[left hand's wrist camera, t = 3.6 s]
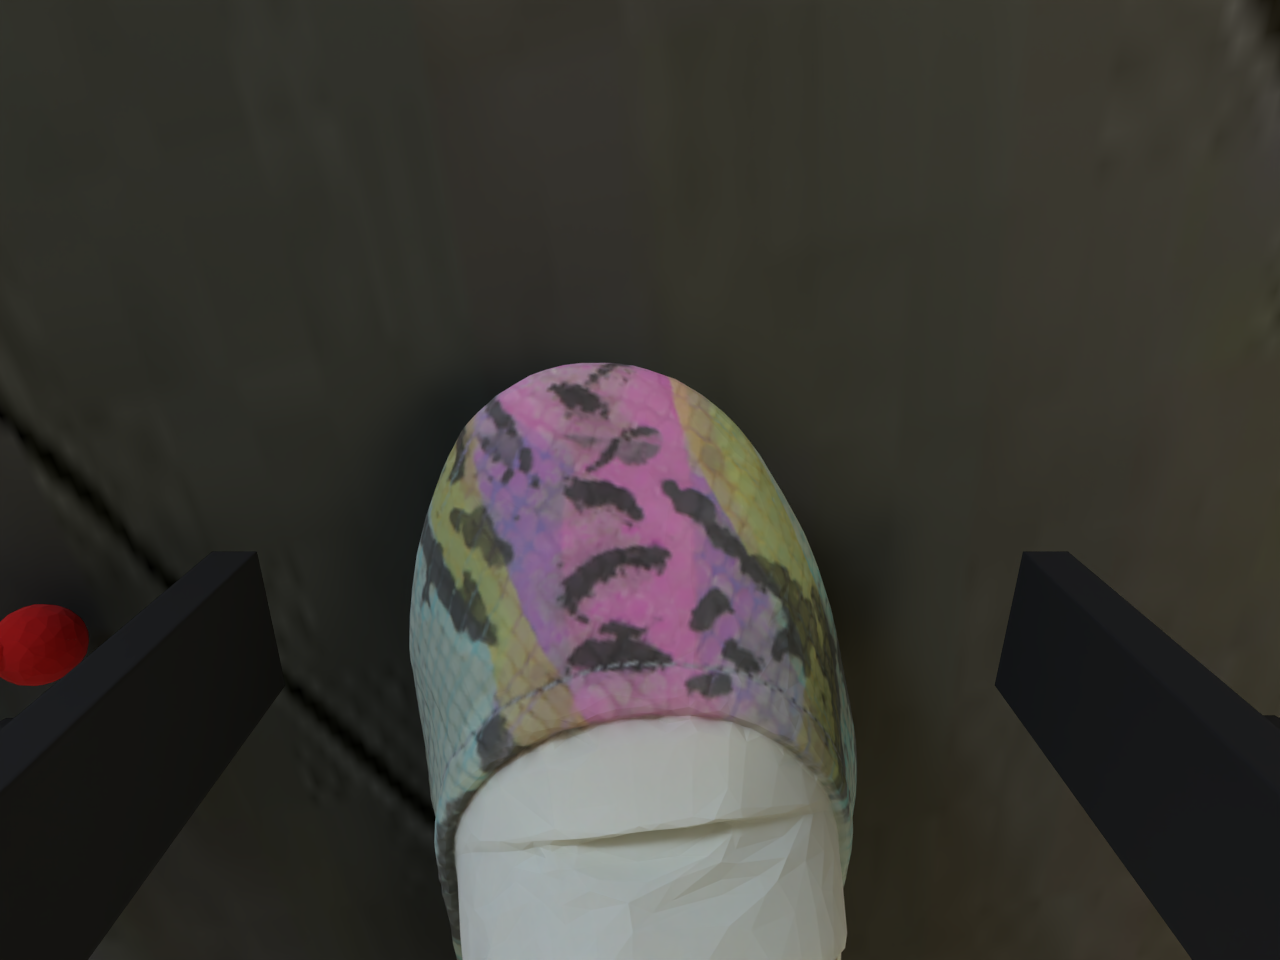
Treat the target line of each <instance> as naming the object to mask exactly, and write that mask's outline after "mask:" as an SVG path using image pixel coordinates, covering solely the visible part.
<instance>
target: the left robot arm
mask: <svg viewBox="0 0 1280 960" xmlns="http://www.w3.org/2000/svg"><path fill="white" fill-rule="evenodd" d="M284 686H285V682H284V677H283V673H282V668H281V663H280V658H279V654H278V649H277V644H276V640H275V635H274V630H273V625H272V621H271V616H270V611H269V607H268V602H267V597H266V592H265V588H264V583H263V578H262V574H261V569H260V564H259V559H258V555H257V552H211V553H210V554H209V555H208V556H206V557H205V558H204V559H203V560H202V561H200V562H199V563H198V564H197V565H196V566H194V567H193V568H192V569H191V570H190V571H189V572H187V573H186V574H185V575H184V576H183V577H181V578H180V579H179V580H178V581H177V582H175V583H174V584H173V585H172V586H171V587H170V588H168V589H167V590H166V591H165V592H164V593H162V594H161V595H160V596H159V597H158V598H156V599H155V600H154V601H153V602H152V603H150V604H149V605H148V606H147V607H146V608H145V609H143V610H142V611H141V612H140V613H139V614H137V615H136V616H135V617H134V618H133V619H131V620H130V621H129V622H128V623H127V624H126V625H124V626H123V627H122V628H121V629H120V630H118V631H117V632H116V633H115V634H114V635H112V636H111V637H110V638H109V639H108V640H106V641H105V642H104V643H103V644H102V645H101V646H99V647H98V648H97V649H96V650H95V651H93V652H92V653H91V654H90V655H89V656H87V657H86V658H85V659H84V660H83V661H82V662H80V663H79V664H78V665H77V666H76V667H74V668H73V669H72V670H71V671H70V672H68V673H67V674H66V675H65V676H64V677H63V678H61V679H60V680H59V681H58V682H57V683H55V684H54V685H53V686H52V687H51V688H49V689H48V690H47V691H46V692H45V693H43V694H42V695H41V696H40V697H39V698H38V699H36V700H35V701H34V702H33V703H32V704H30V705H29V706H28V707H27V708H26V709H24V710H23V711H22V712H21V713H20V714H19V715H17V716H16V717H15V718H6V719H4V720H2V721H0V960H88V959H89V957H90V956H91V954H92V953H93V952H94V950H95V949H96V947H97V946H98V945H99V943H100V942H101V941H102V939H103V938H104V936H105V935H106V934H107V932H108V931H109V929H110V928H111V927H112V925H113V924H114V922H115V921H116V920H117V918H118V917H119V916H120V914H121V913H122V911H123V910H124V909H125V907H126V906H127V904H128V903H129V902H130V900H131V899H132V897H133V896H134V895H135V893H136V892H137V890H138V889H139V888H140V886H141V885H142V884H143V882H144V881H145V879H146V878H147V877H148V875H149V874H150V872H151V871H152V870H153V868H154V867H155V865H156V864H157V863H158V861H159V860H160V858H161V857H162V856H163V854H164V853H165V852H166V850H167V849H168V847H169V846H170V845H171V843H172V842H173V840H174V839H175V838H176V836H177V835H178V833H179V832H180V831H181V829H182V828H183V827H184V825H185V824H186V822H187V821H188V820H189V818H190V817H191V815H192V814H193V813H194V811H195V810H196V808H197V807H198V806H199V804H200V803H201V801H202V800H203V799H204V797H205V796H206V795H207V793H208V792H209V790H210V789H211V788H212V786H213V785H214V783H215V782H216V781H217V779H218V778H219V776H220V775H221V774H222V772H223V771H224V770H225V768H226V767H227V765H228V764H229V763H230V761H231V760H232V758H233V757H234V756H235V754H236V753H237V751H238V750H239V749H240V747H241V746H242V744H243V743H244V742H245V740H246V739H247V738H248V736H249V735H250V733H251V732H252V731H253V729H254V728H255V726H256V725H257V724H258V722H259V721H260V719H261V718H262V717H263V715H264V714H265V713H266V711H267V710H268V708H269V707H270V706H271V704H272V703H273V701H274V700H275V699H276V697H277V696H278V694H279V693H280V692H281V690H282V689H283V687H284ZM995 686H996V687H997V689H998V690H999V692H1000V693H1001V694H1002V696H1003V697H1004V699H1005V700H1006V701H1007V703H1008V704H1009V706H1010V707H1011V708H1012V710H1013V711H1014V713H1015V714H1016V715H1017V717H1018V718H1019V719H1020V721H1021V722H1022V724H1023V725H1024V726H1025V728H1026V729H1027V731H1028V732H1029V733H1030V735H1031V736H1032V738H1033V739H1034V740H1035V742H1036V743H1037V744H1038V746H1039V747H1040V749H1041V750H1042V751H1043V753H1044V754H1045V756H1046V757H1047V758H1048V760H1049V761H1050V763H1051V764H1052V765H1053V767H1054V768H1055V770H1056V771H1057V772H1058V774H1059V775H1060V776H1061V778H1062V779H1063V781H1064V782H1065V783H1066V785H1067V786H1068V788H1069V789H1070V790H1071V792H1072V793H1073V795H1074V796H1075V797H1076V799H1077V800H1078V801H1079V803H1080V804H1081V806H1082V807H1083V808H1084V810H1085V811H1086V813H1087V814H1088V815H1089V817H1090V818H1091V820H1092V821H1093V822H1094V824H1095V825H1096V827H1097V828H1098V829H1099V831H1100V832H1101V833H1102V835H1103V836H1104V838H1105V839H1106V840H1107V842H1108V843H1109V845H1110V846H1111V847H1112V849H1113V850H1114V852H1115V853H1116V854H1117V856H1118V857H1119V859H1120V860H1121V861H1122V863H1123V864H1124V865H1125V867H1126V868H1127V870H1128V871H1129V872H1130V874H1131V875H1132V877H1133V878H1134V879H1135V881H1136V882H1137V884H1138V885H1139V886H1140V888H1141V889H1142V890H1143V892H1144V893H1145V895H1146V896H1147V897H1148V899H1149V900H1150V902H1151V903H1152V904H1153V906H1154V907H1155V909H1156V910H1157V911H1158V913H1159V914H1160V916H1161V917H1162V918H1163V920H1164V921H1165V922H1166V924H1167V925H1168V927H1169V928H1170V929H1171V931H1172V932H1173V934H1174V935H1175V936H1176V938H1177V939H1178V941H1179V942H1180V943H1181V945H1182V946H1183V947H1184V949H1185V950H1186V952H1187V953H1188V954H1189V956H1190V957H1191V959H1192V960H1280V718H1278V717H1276V716H1263V715H1261V714H1260V713H1259V712H1258V711H1257V710H1256V709H1254V708H1253V707H1252V706H1251V705H1250V704H1248V703H1247V702H1246V701H1245V700H1244V699H1242V698H1241V697H1240V696H1239V695H1238V694H1237V693H1235V692H1234V691H1233V690H1232V689H1231V688H1229V687H1228V686H1227V685H1226V684H1225V683H1223V682H1222V681H1221V680H1220V679H1219V678H1217V677H1216V676H1215V675H1214V674H1213V673H1212V672H1210V671H1209V670H1208V669H1207V668H1206V667H1204V666H1203V665H1202V664H1201V663H1200V662H1198V661H1197V660H1196V659H1195V658H1194V657H1193V656H1191V655H1190V654H1189V653H1188V652H1187V651H1185V650H1184V649H1183V648H1182V647H1181V646H1179V645H1178V644H1177V643H1176V642H1175V641H1174V640H1172V639H1171V638H1170V637H1169V636H1168V635H1166V634H1165V633H1164V632H1163V631H1162V630H1160V629H1159V628H1158V627H1157V626H1156V625H1154V624H1153V623H1152V622H1151V621H1150V620H1149V619H1147V618H1146V617H1145V616H1144V615H1143V614H1141V613H1140V612H1139V611H1138V610H1137V609H1135V608H1134V607H1133V606H1132V605H1131V604H1130V603H1128V602H1127V601H1126V600H1125V599H1124V598H1122V597H1121V596H1120V595H1119V594H1118V593H1116V592H1115V591H1114V590H1113V589H1112V588H1110V587H1109V586H1108V585H1107V584H1106V583H1105V582H1103V581H1102V580H1101V579H1100V578H1099V577H1097V576H1096V575H1095V574H1094V573H1093V572H1091V571H1090V570H1089V569H1088V568H1087V567H1086V566H1084V565H1083V564H1082V563H1081V562H1080V561H1078V560H1077V559H1076V558H1075V557H1074V556H1072V555H1071V554H1070V553H1069V552H1023V555H1022V559H1021V564H1020V569H1019V574H1018V578H1017V583H1016V588H1015V592H1014V597H1013V602H1012V607H1011V611H1010V616H1009V621H1008V625H1007V630H1006V635H1005V640H1004V644H1003V649H1002V654H1001V658H1000V663H999V668H998V673H997V677H996V682H995Z"/></svg>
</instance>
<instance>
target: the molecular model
mask: <svg viewBox="0 0 1280 960" xmlns="http://www.w3.org/2000/svg"><path fill="white" fill-rule="evenodd" d="M88 643H89V635H88V630H87V628H86V625H85V623H84V622H83V620H82V619H81V618H80V617H79V616H78V615H76V614H75V613H74V612H72V611H71V610H69V609H66V608H63V607H61V606H58V605H47V604H36V605H31V606H27V607H23V608H21V609H19V610H17V611H15V612H12V613H10V614H8V615H7V616H6V617H5V618H4V619H3V620H2V621H1V622H0V677H1V678H3V679H5V680H6V681H9V682H11V683H14V684H17V685H26V686H38V685H44V684H48V683H51V682H54V681H56V680H58V679H60V678H62V677H64V676H65V675H66V674H67V673H68V672H70V671H71V670H72V669H73V668H74V667H76V666H77V665H78V664H79V663H80V662H81V661H82V660H83V658H84V656H85V655H86V653H87V649H88Z"/></svg>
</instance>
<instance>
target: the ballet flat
mask: <svg viewBox="0 0 1280 960" xmlns="http://www.w3.org/2000/svg"><path fill="white" fill-rule="evenodd" d="M409 650H410V658H411V664H412V669H413V674H414V680H415V687H416V694H417V701H418V707H419V713H420V719H421V725H422V730H423V736H424V742H425V749H426V760H427V765H428V774H429V784H430V793H431V800H432V804H433V808H434V812H435V816H436V819H435V839H434V844H435V852H436V860H437V866H438V874H439V881H440V883H441V888H442V896H443V898H444V902H445V906H446V910H447V914H448V917H449V920H450V926H451V932H452V940H453V946H454V949H455V953H456V957H457V960H841V952H842V951H843V950H844V949H845V945H846V938H847V926H846V915H845V904H844V893H843V887H844V884H845V880H846V875H847V870H848V865H849V860H850V855H851V850H852V837H853V820H852V817H853V810H854V804H855V798H856V784H857V753H856V738H855V732H854V725H853V718H852V712H851V706H850V701H849V695H848V690H847V685H846V679H845V675H844V670H843V665H842V659H841V654H840V648H839V642H838V637H837V633H836V629H835V624H834V620H833V615H832V611H831V607H830V604H829V601H828V597H827V594H826V591H825V588H824V585H823V581H822V578H821V575H820V572H819V569H818V566H817V563H816V561H815V558H814V556H813V553H812V551H811V548H810V546H809V543H808V541H807V538H806V536H805V534H804V532H803V530H802V528H801V526H800V524H799V522H798V520H797V518H796V516H795V515H794V513H793V511H792V509H791V507H790V505H789V504H788V502H787V500H786V498H785V496H784V495H783V493H782V491H781V490H780V488H779V486H778V485H777V483H776V481H775V480H774V478H773V476H772V475H771V473H770V471H769V470H768V468H767V466H766V465H765V463H764V461H763V460H762V458H761V456H760V455H759V453H758V452H757V450H756V449H755V448H754V446H753V445H752V444H751V442H750V441H749V440H748V439H747V437H746V436H745V435H744V434H743V432H742V431H741V430H740V429H739V428H738V427H737V425H736V424H735V423H734V422H733V421H732V420H731V419H730V418H729V417H728V416H727V415H726V414H725V413H724V412H723V411H721V410H720V409H719V408H718V407H716V406H715V405H714V404H713V403H711V402H710V401H709V400H708V399H706V398H705V397H704V396H703V395H701V394H700V393H698V392H696V391H695V390H693V389H691V388H690V387H688V386H686V385H685V384H683V383H681V382H680V381H678V380H676V379H674V378H671V377H668V376H665V375H662V374H659V373H656V372H653V371H650V370H647V369H644V368H640V367H636V366H632V365H624V364H617V363H578V364H569V365H563V366H558V367H554V368H550V369H546V370H543V371H541V372H538V373H535V374H532V375H530V376H528V377H526V378H525V379H523V380H521V381H519V382H518V383H516V384H514V385H513V386H511V387H509V388H508V389H506V390H505V391H503V392H501V393H500V394H498V395H497V396H495V397H494V398H493V399H492V400H491V401H490V402H489V403H488V404H487V405H486V406H484V407H483V408H482V409H481V410H480V411H479V412H478V413H477V414H476V415H475V416H474V417H473V418H472V419H471V420H470V421H469V422H468V423H467V425H466V426H465V427H464V428H463V430H462V431H461V433H460V435H459V437H458V439H457V441H456V443H455V445H454V447H453V449H452V450H451V452H450V454H449V456H448V458H447V461H446V463H445V465H444V467H443V469H442V472H441V475H440V478H439V481H438V483H437V486H436V489H435V492H434V495H433V498H432V501H431V503H430V506H429V509H428V512H427V515H426V518H425V522H424V527H423V531H422V535H421V539H420V543H419V548H418V552H417V557H416V565H415V572H414V579H413V587H412V598H411V610H410V642H409Z"/></svg>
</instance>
